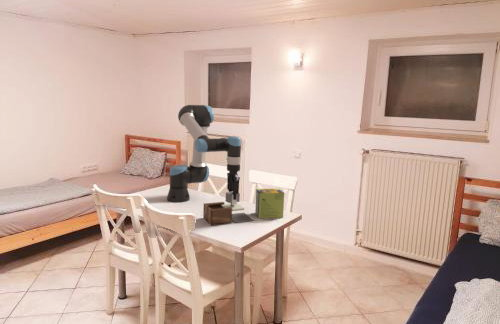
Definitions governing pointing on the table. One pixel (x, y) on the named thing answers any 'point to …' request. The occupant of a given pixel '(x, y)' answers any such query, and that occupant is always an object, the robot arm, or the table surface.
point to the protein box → (269, 203)
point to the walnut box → (217, 214)
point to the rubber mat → (241, 218)
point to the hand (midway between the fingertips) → (232, 203)
